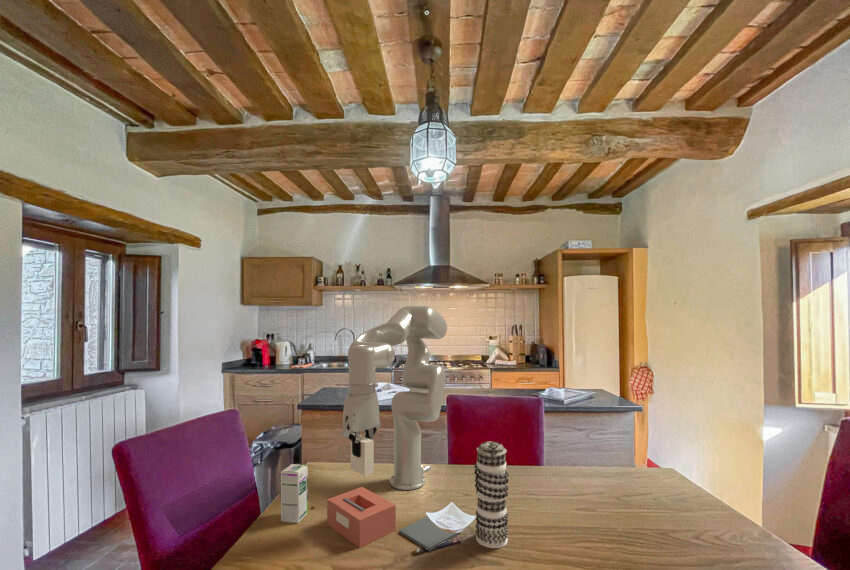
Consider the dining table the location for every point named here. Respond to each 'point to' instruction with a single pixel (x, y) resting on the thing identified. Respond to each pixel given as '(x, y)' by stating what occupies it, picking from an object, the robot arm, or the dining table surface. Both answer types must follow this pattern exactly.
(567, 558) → the dining table surface
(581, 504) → the dining table surface
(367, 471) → the cream upright pillar
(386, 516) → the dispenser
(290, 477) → the syrup box
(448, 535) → the coaster
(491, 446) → the white patterned cylinder
